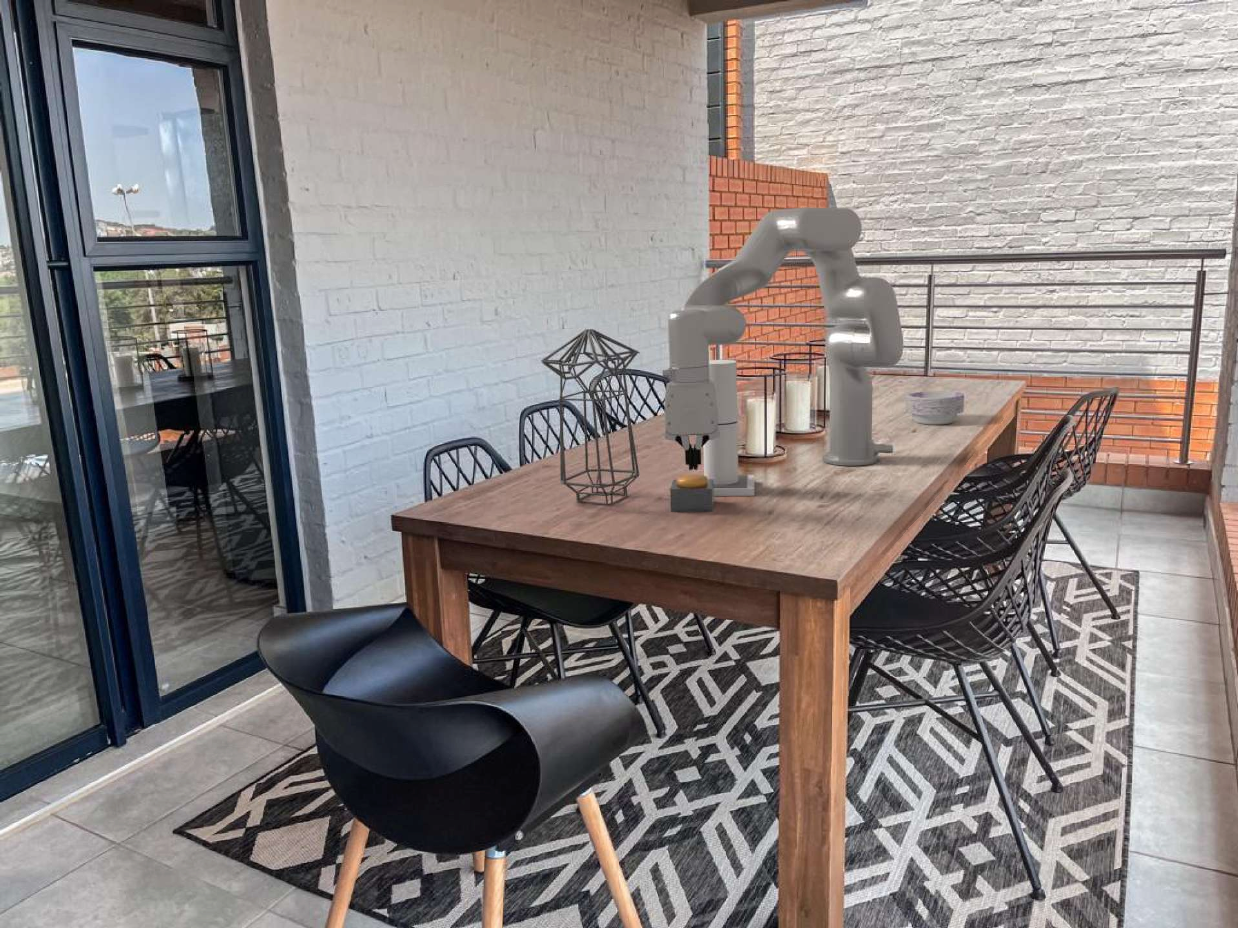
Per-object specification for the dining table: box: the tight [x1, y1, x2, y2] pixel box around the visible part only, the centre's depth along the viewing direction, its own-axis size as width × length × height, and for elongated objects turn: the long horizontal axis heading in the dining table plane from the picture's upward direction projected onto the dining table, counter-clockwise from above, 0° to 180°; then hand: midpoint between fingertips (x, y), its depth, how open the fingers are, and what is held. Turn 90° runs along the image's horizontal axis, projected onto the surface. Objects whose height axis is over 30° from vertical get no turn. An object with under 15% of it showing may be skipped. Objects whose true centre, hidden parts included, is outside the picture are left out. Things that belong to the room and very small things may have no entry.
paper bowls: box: [905, 390, 965, 426], centre depth 265 cm, size 15×15×8 cm
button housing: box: [669, 478, 715, 513], centre depth 189 cm, size 8×8×4 cm
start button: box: [676, 474, 708, 488], centre depth 189 cm, size 6×6×5 cm
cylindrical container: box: [703, 359, 739, 485], centre depth 200 cm, size 7×7×25 cm
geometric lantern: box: [540, 328, 640, 506], centre depth 195 cm, size 16×16×35 cm
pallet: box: [702, 474, 755, 497], centre depth 203 cm, size 14×12×2 cm
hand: (693, 468), depth 189 cm, fingers closed
